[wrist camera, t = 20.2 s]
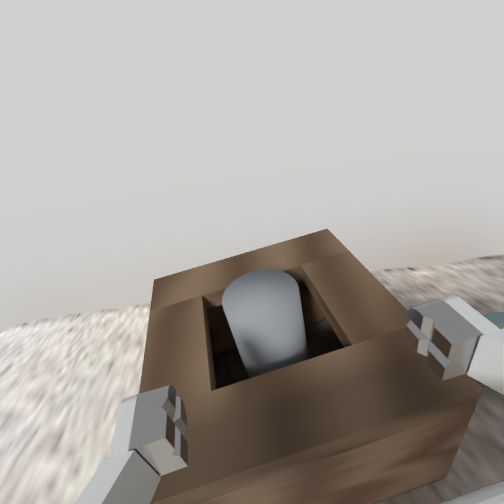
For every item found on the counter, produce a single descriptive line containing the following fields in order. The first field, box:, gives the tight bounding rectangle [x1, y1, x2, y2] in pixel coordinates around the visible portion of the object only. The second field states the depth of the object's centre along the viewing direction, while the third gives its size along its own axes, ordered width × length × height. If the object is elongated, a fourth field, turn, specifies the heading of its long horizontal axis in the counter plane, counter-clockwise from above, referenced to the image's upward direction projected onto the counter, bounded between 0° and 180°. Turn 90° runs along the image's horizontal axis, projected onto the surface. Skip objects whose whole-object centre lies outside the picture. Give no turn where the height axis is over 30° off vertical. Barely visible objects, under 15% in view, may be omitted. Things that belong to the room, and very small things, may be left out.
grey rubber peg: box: [222, 269, 309, 379], centre depth 21 cm, size 5×5×12 cm
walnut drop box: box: [139, 229, 483, 504], centre depth 21 cm, size 16×16×10 cm
